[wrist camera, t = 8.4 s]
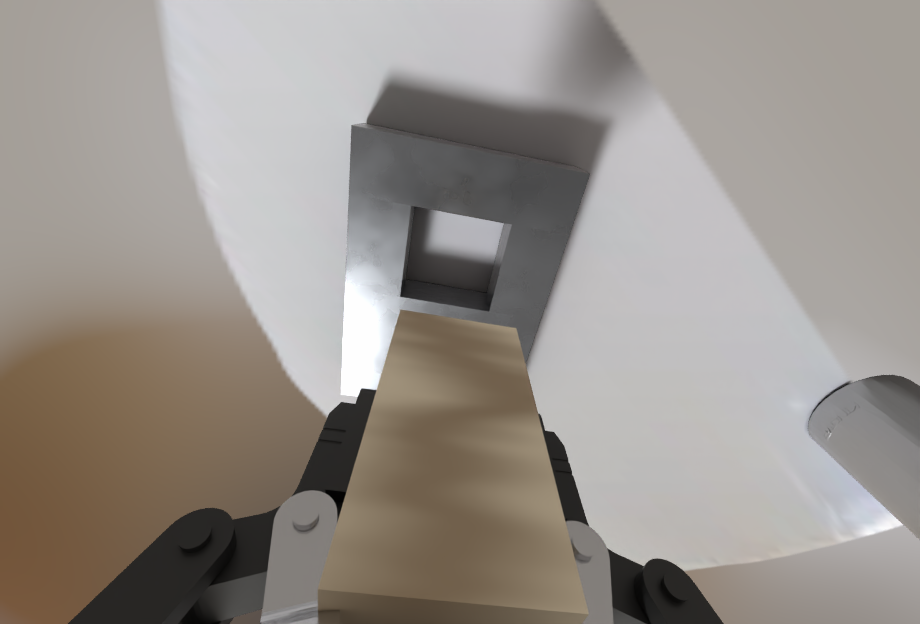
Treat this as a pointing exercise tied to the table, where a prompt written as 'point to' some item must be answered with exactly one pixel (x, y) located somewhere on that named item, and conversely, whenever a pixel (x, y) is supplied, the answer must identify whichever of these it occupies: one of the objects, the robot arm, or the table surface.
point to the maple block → (452, 491)
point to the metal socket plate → (459, 192)
